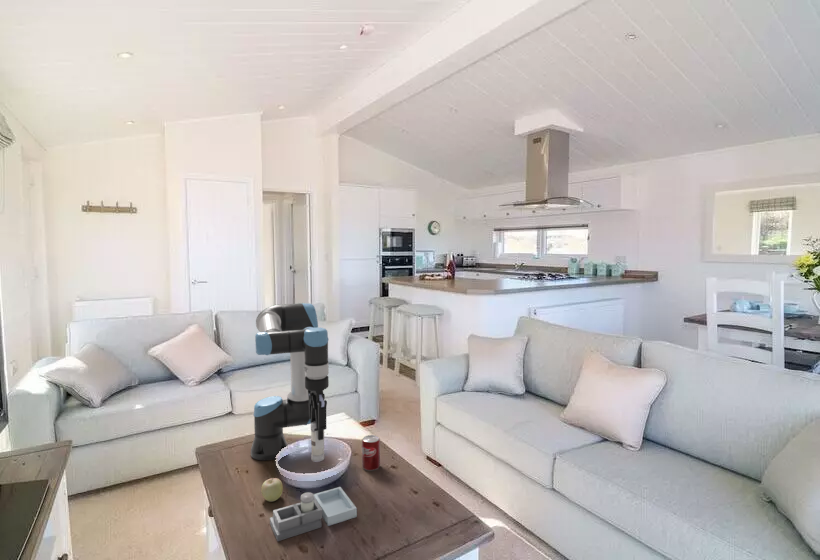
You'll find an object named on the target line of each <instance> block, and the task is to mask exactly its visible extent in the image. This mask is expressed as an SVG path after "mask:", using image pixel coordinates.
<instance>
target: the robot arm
mask: <svg viewBox="0 0 820 560" xmlns="http://www.w3.org/2000/svg"><path fill="white" fill-rule="evenodd" d="M255 326H256V329H257V331H258V332H257V333H256V334H255V335H254V336H255V353H256V355H257V356H270V355H280V354H290V355H289V356H290V357H289V358H290V362H289V363H290V392H289V393H288V394H287V395H286V396H287V399H283V398H282V397H281V396H279V395H272V396H267V397H265V398H262V399H259V400H258V401H257V402H256V403H255V404H254V406H253V417H254V418H253V420H254V421H253V425H254V437H253V441H252V445H251V448H250V456H251V458H252V459H254V460H256V461H273V460H276V459H275V457H276V455H277V454H278V453H279V451H281V449H282V448H284V447H286V446H287V447H288V443H287V440H286V437H285V435H284V428H285V429H286V428H291V427H292V428H293V427H301V426H307V425H311V423H312V422H315V421H316V429H314V431H315V444H316V450H317V449H321V448H324V449H325V430H327V405H328V402H327V400H326V399H325V393H324V391H325V390H326V389H328V388H329V384H330V383H329V382H330V381H329V373H330V372H329V366H330V365H329V336H328V332H329V331H328V330H327V329H326V328H324V327H319V323H318V315H317V311H316V308H315V305H314V304H312V303H305V302H304V303H303V302H302V303H301V302H300V303H299V302H298V303H288V304H287V303H285V304H281V303H280V304H275V305H271V306H268V307H266V308H265V309H263V310H262V311H260V312H259V313H258V315H257V316H256V319H255Z"/></svg>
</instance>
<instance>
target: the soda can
mask: <svg viewBox="0 0 820 560" xmlns="http://www.w3.org/2000/svg"><path fill="white" fill-rule="evenodd" d="M361 465H362V468H363V470H364V471H367V472H374V471H377V470H378V469H379V468H380V467H381V439H380V437H379V436H378V435H376V434H375V435H374V434H369V435H365V436H364V437H363V438H362V439H361Z"/></svg>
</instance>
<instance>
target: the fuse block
mask: <svg viewBox="0 0 820 560" xmlns="http://www.w3.org/2000/svg"><path fill="white" fill-rule="evenodd" d="M314 494H315V493H313V492H310V491H309V492H304V493H302V494H301V495H300V502H297V503H294V504H291V505H287V506H284V507H280V508H276V509H273V510H272V517H269V525H270V527H271V530H272V532H273V535H274V536H275V539H276V542H281V541H282V540H287V539H289V538H292V537H295V536H299V535H301V534H302V535H303V534H305V533H307V532H310V531H311V532H312V531H315V530H317V529H320V528H322V526H323V525H322V520H321V519H323V517H322V509H321V507H320V506H319V504H318V502H317V501H316V499H315V498H314Z"/></svg>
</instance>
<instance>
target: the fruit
mask: <svg viewBox="0 0 820 560" xmlns="http://www.w3.org/2000/svg"><path fill="white" fill-rule="evenodd" d="M283 485H284V484H283V483H282V481H281V480H280V479H279V478H278V477H277V478H276V477H275V478H274V477H271V478H269V479H266V480H265V481H264V482H263V483H262V485H261V488H260V490H261V492H260V493H261V495H262V497H263V499H264V500H266V501H267V502H271V503H272V502H275V501H277V500H278V499H280V497H281V496H282V493H283V490H284V488H283V487H284V486H283Z"/></svg>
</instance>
